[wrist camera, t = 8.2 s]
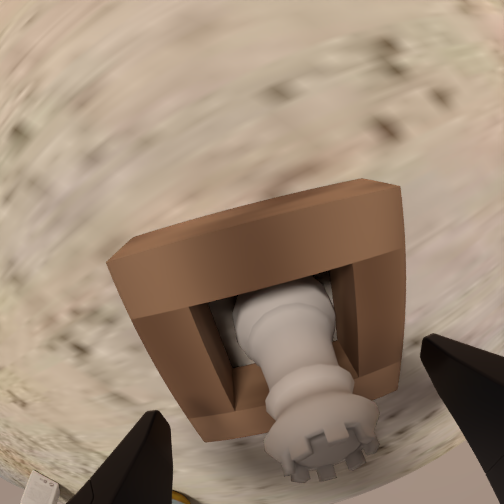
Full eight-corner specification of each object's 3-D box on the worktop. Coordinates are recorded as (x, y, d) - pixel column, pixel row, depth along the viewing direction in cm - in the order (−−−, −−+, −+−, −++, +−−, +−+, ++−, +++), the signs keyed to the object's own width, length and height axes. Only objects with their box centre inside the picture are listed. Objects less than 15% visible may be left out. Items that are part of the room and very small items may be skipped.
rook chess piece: (343, 310, 13) (427, 436, 6) (272, 362, 14) (304, 502, 6) (290, 244, 12) (380, 375, 4) (211, 307, 13) (202, 470, 5)
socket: (361, 178, 11) (400, 186, 8) (374, 356, 14) (397, 389, 12) (132, 237, 11) (105, 262, 8) (206, 401, 14) (204, 442, 12)
